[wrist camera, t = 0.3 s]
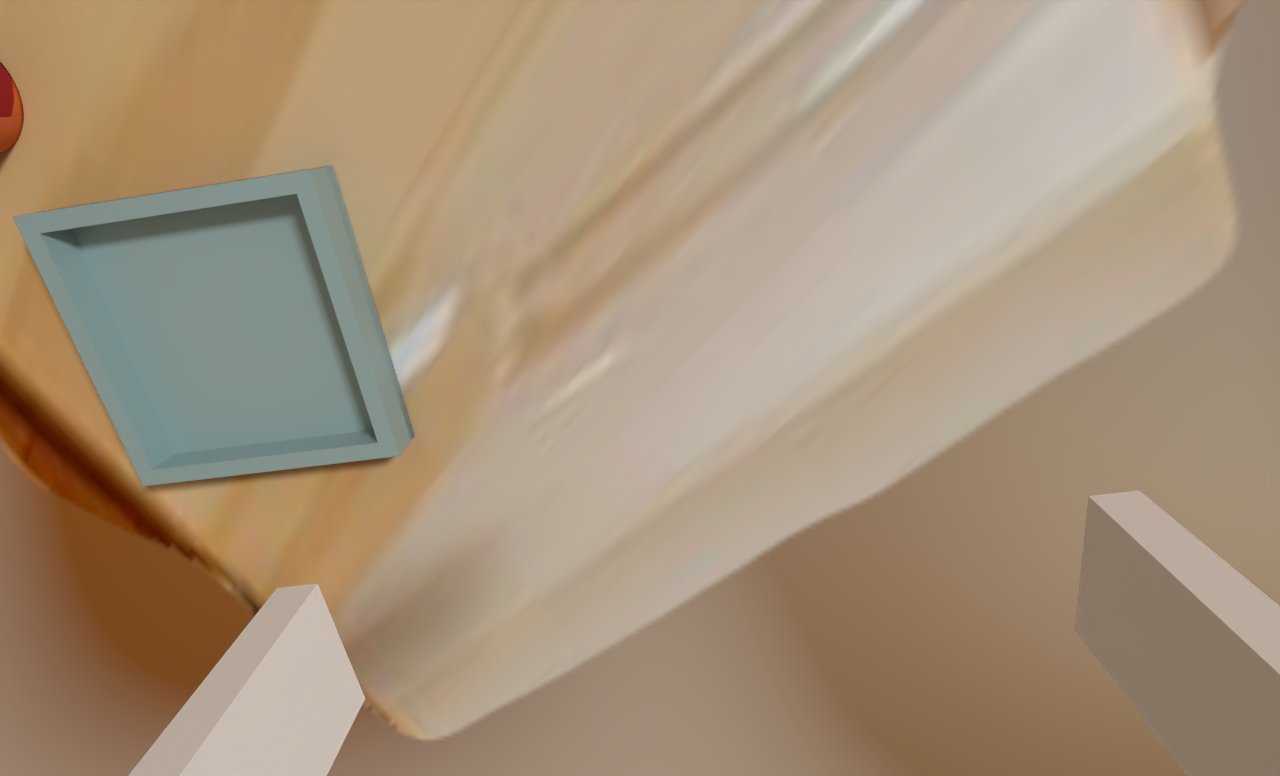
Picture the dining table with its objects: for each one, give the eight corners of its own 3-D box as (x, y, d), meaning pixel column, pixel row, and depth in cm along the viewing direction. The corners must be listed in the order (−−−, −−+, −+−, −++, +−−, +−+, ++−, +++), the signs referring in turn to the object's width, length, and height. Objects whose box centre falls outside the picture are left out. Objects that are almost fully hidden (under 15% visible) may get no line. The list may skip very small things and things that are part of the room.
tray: (54, 209, 37) (12, 216, 35) (332, 165, 36) (309, 170, 34) (171, 465, 43) (143, 486, 41) (414, 435, 42) (399, 456, 40)
